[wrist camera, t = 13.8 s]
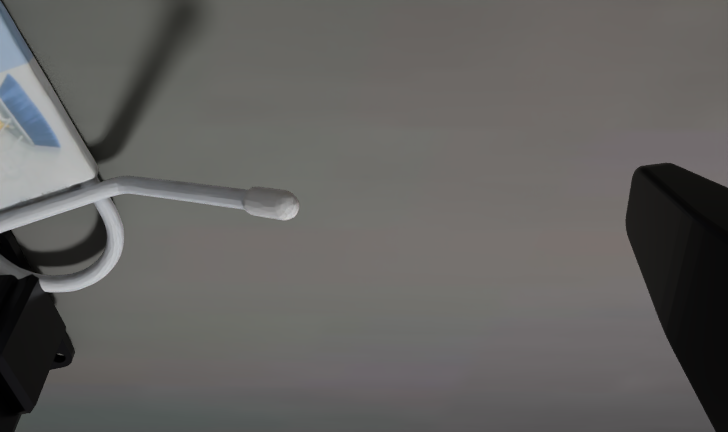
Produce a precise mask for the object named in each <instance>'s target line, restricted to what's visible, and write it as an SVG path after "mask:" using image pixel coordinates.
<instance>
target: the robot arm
mask: <svg viewBox="0 0 728 432" xmlns="http://www.w3.org/2000/svg"><path fill="white" fill-rule="evenodd" d="M626 231H627V235H628V238H629V241H630V244H631V246H632V249H633V251H634V254H635V257H636V259H637V262H638V265H639V267H640V270H641V273H642V275H643V278H644V281H645V283H646V286H647V289H648V291H649V294H650V297H651V299H652V302H653V305H654V307H655V310H656V312H657V315H658V318H659V320H660V323H661V325H662V328H663V330H664V332H665V335H666V337H667V339H668V341H669V343H670V345H671V347H672V349H673V351H674V353H675V355H676V357H677V359H678V361H679V362H680V364H681V366H682V368H683V370H684V372H685V374H686V376H687V378H688V380H689V382H690V383H691V385H692V387H693V389H694V391H695V393H696V395H697V397H698V399H699V401H700V403H701V404H702V406H703V408H704V410H705V412H706V414H707V416H708V418H709V420H710V422H711V424H712V425H713V427H714V429H715V431H716V432H728V188H727V187H725V186H722V185H720V184H718V183H716V182H713V181H711V180H709V179H706V178H704V177H702V176H700V175H697V174H695V173H693V172H690V171H688V170H686V169H684V168H681V167H679V166H677V165H675V164H672V163H661V164H653V165H645V166H640V167H639V168H637V169H636V170H635V172H634V174H633V177H632V182H631V188H630V194H629V201H628V207H627V213H626ZM0 241H1V243H0V254H1V255H2V256H3V257H4V258H6V259H7V260H8V261H10V262H11V263H13V264H14V265H16V266H18V267H20V268H22V269H25V270H28V271H30V272H32V270H31V268H30V266H29V264H28V263H27V261H26V259H25V257H24V255H23V253H22V251H21V250H20V248H19V246H18V244H17V242H16V240H15V239H14V237H13V235H12V234H11V232H10V231H9V230H8V231H5V232H2V233H0ZM65 329H66V326H65V324H64V322H63V320H62V318H61V317H60V315H59V313H58V311H57V309H56V307H55V305H54V304H53V302H52V300H51V298H50V296H49V294H48V292H45V291H44V290H43V289H42V288H41V285H40V282H39V278H38V277H36V276H35V275H33V274H30V275H28V276H26V277H24V278H21V279H17V278H16V276H14V275H11V274H9V275H0V432H14V431H15V429H16V426H17V424H18V422H19V419H20V417H21V414H26V413H31V411H32V410H33V408H34V407H35V405H36V403H37V401H38V398H39V395H40V393H41V390H42V388H43V385H44V383H45V380H46V378H47V375H48V373H49V370H51V369H56V368H62V367H65V366H68V365H69V364H70V363H71V362H72V359H73V356H74V354H75V350H74V347H73V345H72V344H71V342H70V340H69V338H68V336H67V334H66V333H65ZM56 353H60V354H63V355H58V354H56Z"/></svg>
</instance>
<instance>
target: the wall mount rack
mask: <svg viewBox="0 0 728 432" xmlns="http://www.w3.org/2000/svg"><path fill="white" fill-rule="evenodd" d="M98 172H99V167H98V165H97V164H96V162H95V160H94V158H93V157H92V155H91V153H90V152H89V150H88V149H87V147H86V145H85V143H84V142H83V140H82V138H81V137H80V135H79V133H78V131H77V130H76V128H75V126H74V125H73V123H72V121H71V119H70V118H69V116H68V114H67V112H66V111H65V109H64V107H63V105H62V104H61V102H60V100H59V98H58V97H57V95H56V93H55V91H54V90H53V88H52V86H51V84H50V83H49V81H48V79H47V78H46V76H45V74H44V73H43V71H42V69H41V68H40V66H39V64H38V63H37V61H36V59H35V58H34V56H33V54H32V53H31V51H30V49H29V48H28V46H27V44H26V43H25V41H24V39H23V38H22V36H21V34H20V32H19V31H18V29H17V27H16V25H15V23H14V22H13V20H12V18H11V17H10V15H9V13H8V12H7V10H6V8H5V7H4V5H3V4H2V2H1V0H0V233H2V232H5V231H8V230H11V229H14V228H17V227H20V226H23V225H26V224H29V223H32V222H35V221H38V220H41V219H44V218H48V217H51V216H54V215H57V214H60V213H63V212H66V211H69V210H72V209H75V208H78V207H81V206H84V205H87V204H90V203H94V205H95V206H96V208H97V210H98V212H99V213H100V215H101V217H102V219H103V221H104V224H105V227H106V232H107V242H106V247H105V249H104V251H103V253H102V255H101V256H100V258H99V259H98V260H97V261H96V262H95V263H94V264H92V265H91V266H89V267H88V268H86V269H84V270H82V271H79V272H76V273H73V274H67V275H56V276H51V275H42V274H38V273H33V272H30V271H28V270H25V269H22V268H20V267H18V266H16V265H14V264H13V263H11V262H10V261H8V260H7V259H6V258H4V257H3V256H2V255H1V254H0V275H9V274H11V275H14V276H16V278H17V279H21V278H24V277H26V276H28V275H30V274H33V275H35V276H36V277H38V278H39V282H40V285H41V288H42V289H43V290H44V291H45V292H69V291H76V290H80V289H82V288H85V287H87V286H89V285H92V284H94V283H96V282H97V281H99V280H100V279H102V278H103V277H104V276H106V275H107V274H108V273H109V272H110V271H111V270H112V269H113V267H114V266H115V265H116V263H117V261H118V260H119V258H120V256H121V253H122V249H123V244H124V228H123V224H122V221H121V217H120V215H119V213H118V211H117V209H116V206H115V204H114V203H113V201H112V200H111V198H110V197H112V196H116V195H120V194H127V193H129V194H138V195H145V196H152V197H159V198H167V199H174V200H181V201H189V202H195V203H202V204H209V205H216V206H223V207H229V208H236V209H243V210H245V211H246V212H247V213H249V214H251V215H255V216H261V217H267V218H273V219H279V220H289V219H291V218H293V217H295V216H296V214H297V213H298V210H299V201H298V199H297V198H296V197H295V195H294V194H293V193H291V192H289V191H286V190H280V189H273V188H264V187H252V188H251V189H249V190H245V189H237V188H229V187H221V186H213V185H205V184H196V183H188V182H180V181H171V180H162V179H153V178H144V177H134V176H121V177H115V178H111V179H108V180H105V181H103V182H100V180H99V179H98V177H97V175H98Z"/></svg>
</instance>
